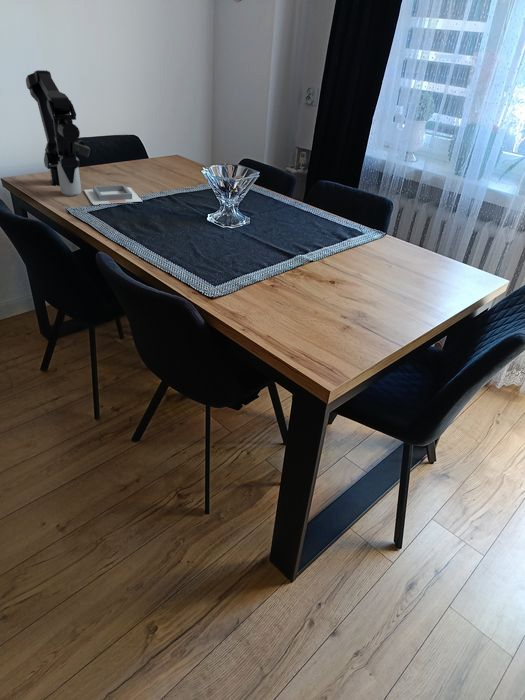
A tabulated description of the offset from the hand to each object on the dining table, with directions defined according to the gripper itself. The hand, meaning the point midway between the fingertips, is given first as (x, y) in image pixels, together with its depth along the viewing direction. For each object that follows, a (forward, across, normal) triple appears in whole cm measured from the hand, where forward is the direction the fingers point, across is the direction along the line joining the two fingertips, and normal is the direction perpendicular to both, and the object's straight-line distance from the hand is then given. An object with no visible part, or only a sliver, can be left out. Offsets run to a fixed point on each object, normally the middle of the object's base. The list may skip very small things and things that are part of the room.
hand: (69, 179), depth 186 cm
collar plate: (+5, -7, -14) cm, 16 cm away
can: (+6, 0, 0) cm, 6 cm away
